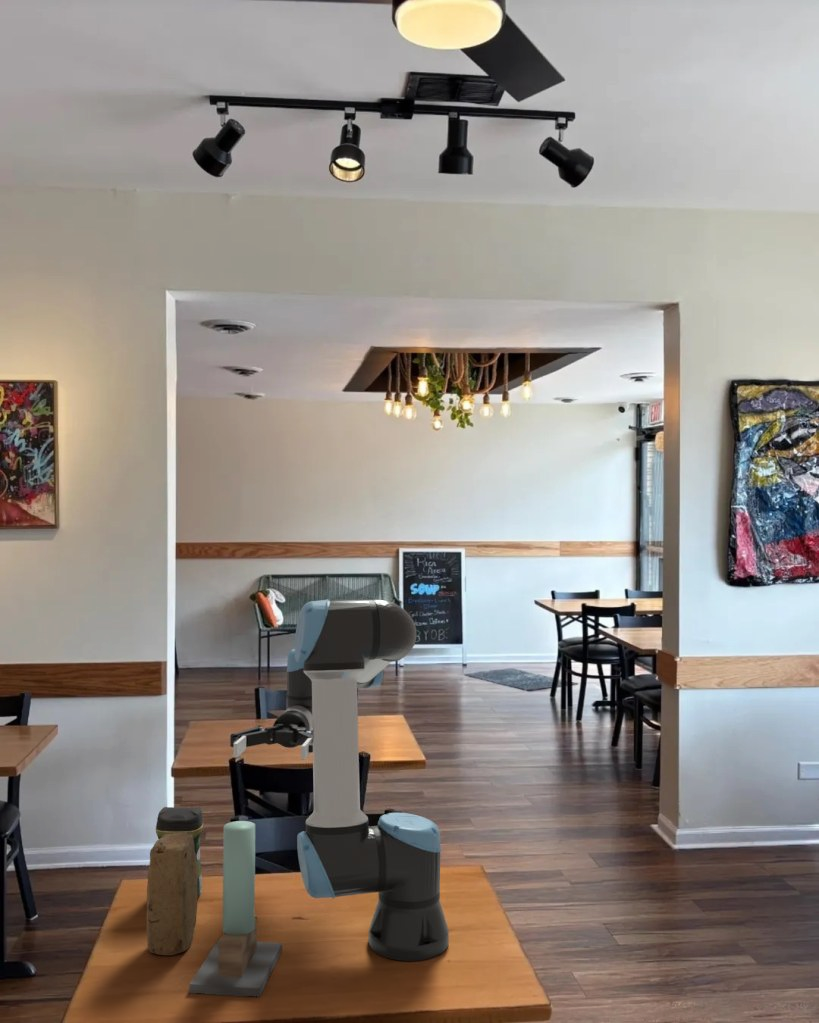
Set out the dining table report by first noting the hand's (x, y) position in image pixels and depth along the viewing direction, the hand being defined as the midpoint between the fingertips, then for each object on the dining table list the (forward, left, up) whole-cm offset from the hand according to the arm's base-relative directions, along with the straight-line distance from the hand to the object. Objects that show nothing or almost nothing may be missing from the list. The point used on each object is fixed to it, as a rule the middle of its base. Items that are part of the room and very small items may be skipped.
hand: (269, 751), depth 176 cm
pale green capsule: (-2, +18, -26) cm, 32 cm away
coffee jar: (+24, -7, -34) cm, 42 cm away
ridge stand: (-2, +18, -34) cm, 38 cm away
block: (+14, +12, -34) cm, 39 cm away
